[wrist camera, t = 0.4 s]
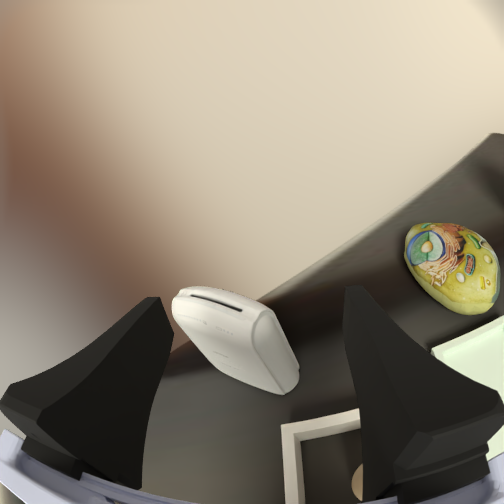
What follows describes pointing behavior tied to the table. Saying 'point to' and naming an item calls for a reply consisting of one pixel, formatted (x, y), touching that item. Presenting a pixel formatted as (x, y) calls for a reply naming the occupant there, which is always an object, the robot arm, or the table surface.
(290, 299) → the table surface
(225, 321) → the photo printer
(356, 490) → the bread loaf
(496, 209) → the table surface
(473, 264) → the cell model
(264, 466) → the table surface
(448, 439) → the robot arm
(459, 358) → the tray
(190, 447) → the table surface
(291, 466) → the square open frame
